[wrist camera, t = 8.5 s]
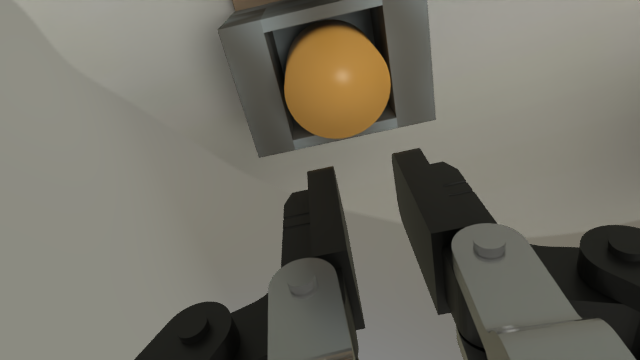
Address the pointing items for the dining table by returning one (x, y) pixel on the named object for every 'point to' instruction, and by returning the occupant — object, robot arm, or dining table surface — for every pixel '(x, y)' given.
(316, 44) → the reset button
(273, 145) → the stand
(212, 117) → the dining table surface
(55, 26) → the dining table surface
